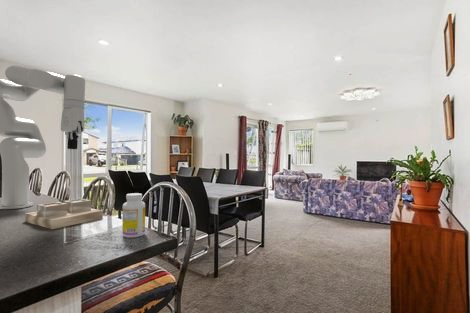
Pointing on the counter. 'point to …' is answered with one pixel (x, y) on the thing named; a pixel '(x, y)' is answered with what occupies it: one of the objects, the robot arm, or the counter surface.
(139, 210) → the supplement bottle
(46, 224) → the key panel
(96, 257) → the counter surface
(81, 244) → the counter surface
